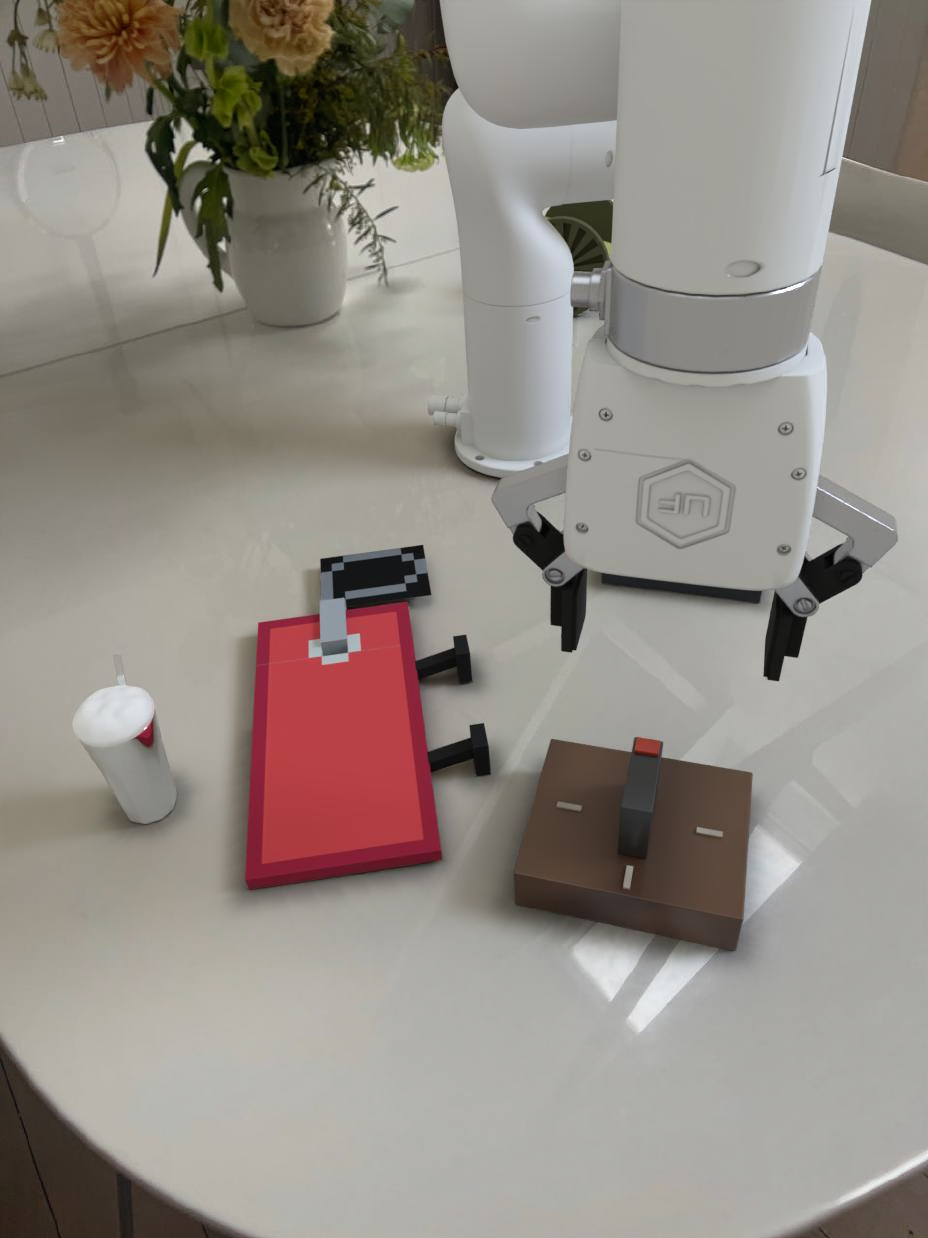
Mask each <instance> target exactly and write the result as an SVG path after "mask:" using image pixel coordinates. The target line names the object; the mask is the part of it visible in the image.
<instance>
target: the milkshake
mask: <svg viewBox="0 0 928 1238" xmlns="http://www.w3.org/2000/svg"><path fill="white" fill-rule="evenodd" d="M112 658H113V664H114V669H115V674H116V681H117V685H113V686H109V687H105V688H104V687H103V688H100V689H98V690H96V691H95V692H93V693H92V694H90V695H89V696H88V697H87V698H86V699H85V700H83V702H81V704H80V705H79V707H78V708H77V710H76V712H75V715H74V716H73V719H72V725H71V727H72V731H73V733H74V735H75V737H76V738H77V739H78V741H79V743H80V744H81V746H82V747H83V748H84V750H85V751H86V753H87V754H88V756H89V757H90V759H91V761H92V762H93V763H94V765H95V766H96V768H97V769H98V770H99V771H100V774H101V775H102V777H103V779H104V780H105V782H106V783H107V785H108V786H109V788H110V790H111V792H112V793H113V795H114V796H115V798H116V800H117V802H118V803H119V805H120V807H121V808H122V810H123V811H124V813H125V815H126V817H127V818H128V820H129V821H130V822H133V823H136V824H142V825H147V824H151V823H155V822H157V821H162V820H163V819H164V818H165V817H166V816H167V815H168V814H169V813H170V812H171V811H173V810H174V809H175V806H176V801H177V798H178V793H177V788H176V786H175V781H174V778H173V774H172V771H171V767H170V763H169V760H168V756H167V751H166V748H165V745H164V741H163V737H162V733H161V729H160V724H159V720H158V716H157V715H158V714H157V711H156V707H155V702H154V700H153V697H152V696H151V695H150V694H149V693H148V692H147V691H146V690H145V689H144V688H141V687H139V686H135V685H134V686H133V685H127V680H126V675H125V670H124V664H123V658H122V655H121V653H115V654H112Z"/></svg>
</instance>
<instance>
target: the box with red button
mask: <svg viewBox="0 0 928 1238" xmlns="http://www.w3.org/2000/svg"><path fill="white" fill-rule="evenodd" d="M663 750H664V741H662V740H660V739H659V740H658V739H652V738H647V737H640V736H635V737H634V738H633V743H632V748H631V751H630V752H631V758H630V763H629V768H628V773H627V778H626V784H625V789H624V794H623V799H622V805H621V814H620V826H619V837H618V849H617V853H620V854H625V855H631V856H636V857H641V858H647V854H648V848H649V842H650V835H651V829H652V823H653V816H654V810H655V804H656V797H657V791H658V784H659V775H660V767H661V759H662V757H663Z"/></svg>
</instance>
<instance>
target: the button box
mask: <svg viewBox="0 0 928 1238" xmlns="http://www.w3.org/2000/svg"><path fill="white" fill-rule="evenodd" d="M600 582H601V584H605V585H612V586H620V587H628V588H634V589H644V590H653V591H658V592H668V593H675V594H684V595H691V596H699V597H707V598H715V599H724V600H730V601H739V602H746V603H754V604H760V603H761V598H762V595H763V594H762V593H763V591H752V590H740V589H730V588H721V587H712V586H703V585H694V584H686V583H677V582H669V581H660V580H652V579H644V578H636V577H628V576H620V575H613V574H606V573H601V580H600Z"/></svg>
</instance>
